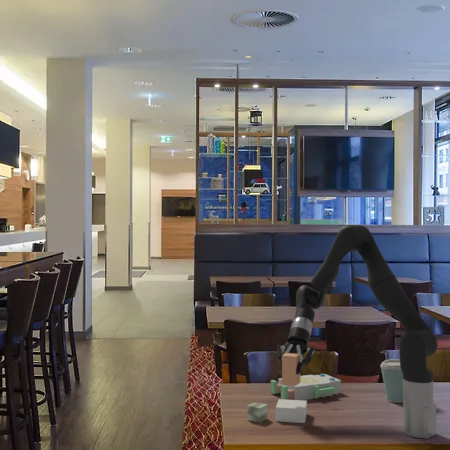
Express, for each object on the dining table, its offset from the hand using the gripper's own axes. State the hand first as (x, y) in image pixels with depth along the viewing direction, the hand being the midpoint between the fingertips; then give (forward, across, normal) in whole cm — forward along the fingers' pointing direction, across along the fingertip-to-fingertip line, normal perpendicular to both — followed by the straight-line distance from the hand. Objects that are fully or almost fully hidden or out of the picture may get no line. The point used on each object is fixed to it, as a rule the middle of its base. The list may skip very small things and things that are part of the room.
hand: (289, 372), depth 200 cm
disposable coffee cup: (-15, +29, +38) cm, 51 cm away
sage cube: (+15, -10, +8) cm, 20 cm away
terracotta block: (+2, 0, +4) cm, 5 cm away
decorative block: (-11, -5, +35) cm, 37 cm away
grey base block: (+10, 0, +13) cm, 16 cm away
